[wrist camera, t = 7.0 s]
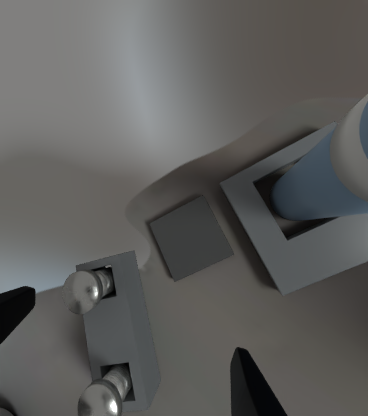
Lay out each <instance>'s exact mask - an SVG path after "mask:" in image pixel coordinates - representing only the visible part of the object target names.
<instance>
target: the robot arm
mask: <svg viewBox="0 0 368 416" xmlns="http://www.w3.org/2000/svg"><path fill="white" fill-rule="evenodd" d="M34 306H35V289H34V288H31V287H28V286H23V287H20V288H17V289H14V290H11V291H7V292H4V293H1V294H0V344H1V343H2V342H3V341H4V340H5V339H6V338H7V337H8V336H9V335H10V333H11V332H12V331H13V330H14V329H15V328H16V327H17V326H18V325H19V324H20V322H21V321H22V320H23V319H24V318H25V317H26V316H27V315H28V314H29V313H30V311H31V310H32V309H33V308H34ZM230 376H231V414H232V416H287V414H286V412H285V411H284V409H283V408H282V406H281V404H280V403H279V401H278V399H277V398H276V396H275V394H274V393H273V391H272V390H271V388H270V386H269V385H268V383H267V381H266V380H265V378H264V376H263V375H262V373H261V372H260V370H259V368H258V367H257V365H256V363H255V362H254V360H253V358H252V357H251V355H250V354H249V352H248V351H247V350H246V349H243V348H240V347H237V348H236V349H235V352H234V355H233V358H232V361H231V366H230Z"/></svg>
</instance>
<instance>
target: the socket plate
mask: <svg viewBox="0 0 368 416" xmlns="http://www.w3.org/2000/svg"><path fill="white" fill-rule="evenodd" d="M337 125H338V124H337V123H336V122H335V121H334V122H332V123H331V124H329V125H327V126H325V127H323V128H321V129H319V130H318V131H316V132H314V133H312V134H310V135H308V136H306V137H304V138H303V139H301V140H299V141H297V142H295V143H293V144H291V145H290V146H288V147H286V148H284V149H282V150H280V151H278V152H277V153H275V154H273V155H271V156H269V157H267V158H265V159H263V160H262V161H260V162H258V163H256V164H254V165H252V166H250V167H249V168H247V169H245V170H243V171H241V172H239V173H237V174H236V175H234V176H232V177H230V178H228V179H226V180H224V181H222V182H221V183H220V187H221V189H222V191H223V192H224V194H225V196H226V198H227V200H228V201H229V203H230V205H231V207H232V209H233V210H234V212H235V214H236V216H237V218H238V219H239V221H240V223H241V225H242V227H243V228H244V230H245V232H246V234H247V236H248V237H249V239H250V241H251V243H252V245H253V246H254V248H255V250H256V252H257V254H258V255H259V257H260V259H261V261H262V263H263V264H264V266H265V268H266V270H267V272H268V273H269V275H270V277H271V279H272V281H273V282H274V284H275V286H276V288H277V290H278V291H279V292H280V293H281V295H282V296H283V295H286V294H288V293H291V292H293V291H296V290H298V289H301V288H303V287H306V286H308V285H310V284H313V283H315V282H318V281H320V280H323V279H325V278H328V277H330V276H333V275H335V274H338V273H340V272H342V271H345V270H347V269H350V268H352V267H355V266H357V265H360V264H362V263H365V262H367V261H368V213H367V214H357V215H348V216H339V217H331V218H329V219H327V220H324V221H322V222H320V223H318V224H316V225H313V226H311V227H309V228H307V229H305V230H303V231H300V232H298V233H296V234H294V235H292V236H289V237H287V238H285V236H284V234H283V233H282V231H281V229H280V228H279V226H278V224H277V223H276V221H275V219H274V218H273V216H272V214H271V213H270V211H269V209H268V208H267V206H266V204H265V203H264V201H263V199H262V198H261V196H260V194H259V193H258V191H257V189H256V188H255V186H254V183H256V182H258V181H260V180H262V179H264V178H266V177H268V176H270V175H272V174H274V173H275V172H277V171H279V170H281V169H283V168H285V167H287V166H289V165H291V164H293V163H295V162H297V161H299V160H300V159H302V158H303V157H304V156H305V155H306V154H307V153H308V152H309V151H310V150H311V149H312V148H314V147H315V146H316V145H317V144H318V143H319V142H320V141H321V140H322V139H323V138H324V137H325V136H327V135H328V134H329V133H330V132H331V131H332V130H333V129H334V128H335V127H336V126H337Z"/></svg>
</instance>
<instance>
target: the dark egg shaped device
mask: <svg viewBox="0 0 368 416" xmlns="http://www.w3.org/2000/svg"><path fill="white" fill-rule="evenodd" d="M0 416H13V415H12V414H11V413H10V412H9V411H7V410H5V409H3V408H0Z"/></svg>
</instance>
